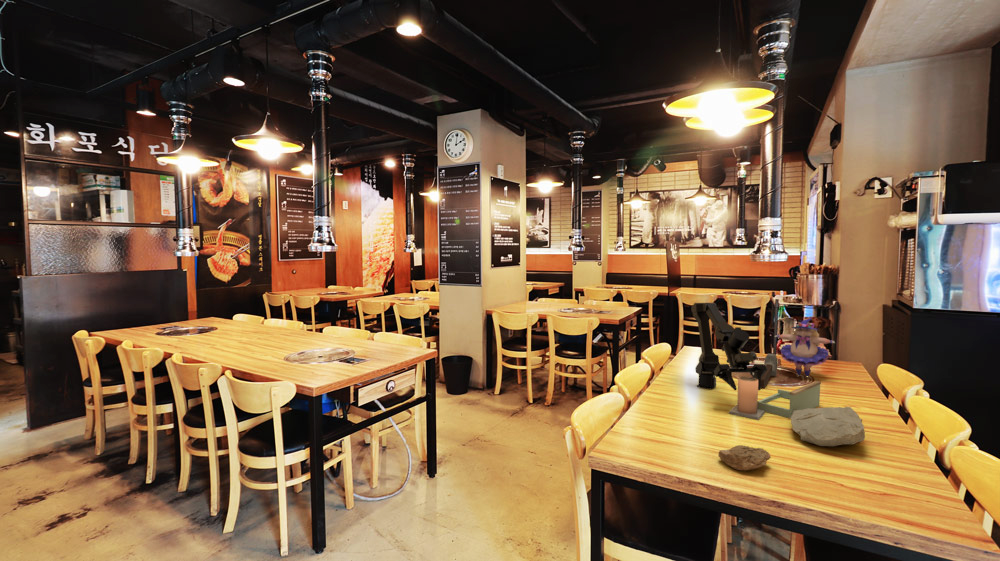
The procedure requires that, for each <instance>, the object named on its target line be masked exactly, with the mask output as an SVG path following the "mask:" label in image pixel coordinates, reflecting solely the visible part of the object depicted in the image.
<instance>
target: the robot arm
mask: <svg viewBox="0 0 1000 561" xmlns="http://www.w3.org/2000/svg"><path fill="white" fill-rule="evenodd" d="M690 309H691V313H692V316H693V318H694V319H695V321H696V322H697V325H698V326H697V327H698V334H699V340H700V342H699V343H700V349H701V354H700V356H699V357H698V363H697V364H696V366H695V369H694V370H695V374H696V373H697V374H698V384H697V388H702V389H706V390H713V389H716V387H717V378H718V379H721V380H722V381H724V382H725V383H727V385H729V386H730V388H731V389H733V390H734V391H738V387H737V385H736V382H735V379H734V377H733V374H732V373H736V374H737V373H740V374H741V373H744V374H745V373H750V376H751V377H752V378H756V379H758V391H761V390H762V388H761V376H762V375H763V374H764V373H765V372H766V371H767V370H768V369H767V367H766V365H764V363H754V364H753V365H752V366H751V367H749V366H750V363H751V362H752V363H753V362H754V361H756V360H757V359H758V357H757V353H756V351H749V352H742V350H741V349H743V348H744V346H745V344H746V343H747V342H748V341H749V339H750V334H749V333H748V332H747V331H745V330H744V329H742V328H741V327H738V326H737V327H735V328H734V326H732V325H731V324H729V323H727V321H726V319H725V318H724V317H723V315H722V314H721V312H720V310H719V309H718V305H717V302H716V303H715V302H694V303H693V304H692V305H691V308H690ZM710 321H711V323H712V325H713V327H714V329H715V331H714V335H715V336H714V337H715V339H716V340H717V341H718V342H719V343H723V346H722V347H721V351H722V352H724V353H725V356H726V359H727V360H726V363H720V359H719V358H720V357H719V355H718V354H716V353H715V352H714V347H713V342H712V333H711V328H710V327H711V326H710ZM727 363H728V364H727Z"/></svg>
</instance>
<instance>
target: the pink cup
mask: <svg viewBox="0 0 1000 561" xmlns="http://www.w3.org/2000/svg"><path fill="white" fill-rule="evenodd" d="M758 396H759V390H758V379H756V378H752V376H739V377H738V378H737V403H736V405H737V410H738V411H740V412H742V413H747V414H756V413H757V404H758V401H759V399H758V398H759V397H758Z"/></svg>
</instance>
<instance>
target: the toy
mask: <svg viewBox="0 0 1000 561" xmlns="http://www.w3.org/2000/svg"><path fill="white" fill-rule="evenodd" d="M811 320H812V317H809V318H806V319H804V320H802V321H797V326H793V327H792V326H791V327H790V328H792V329H795V331H793V333H791V334H789V333H788V334H786V333H785V334H784V333H782V334H776V335H774V338H777V339H778V338H779V339H781V340H785V341H786V340H787V341H791V342H792V343H791V344H785V345H782V347H781V349H780V353H781V355H780V357H781V358H782V359H783V360H784V361H786V362H789V363H790V364H791V363H793V364H794V366H795V372H796V377H799V376H802V371H804V374H805V376H808V377H810V374H811V373H812V372H811V371H812V370H811V368H812V367H814V366H819V365H823V364H824V363H826V362H827V359H829V357H830V356H829V350H827V349H825V348H821V347H822V346H821V347H820V345H821V344H822V345H823V344H824V345H827V344H836V342H835V340H833V339H831V340H830V339H829V338H828V339H827V338H825V337H820V333H818V330H819V328H815V324H814V323H812V322H810V321H811ZM802 367H803V368H802ZM798 375H799V376H798Z"/></svg>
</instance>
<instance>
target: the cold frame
mask: <svg viewBox="0 0 1000 561" xmlns="http://www.w3.org/2000/svg"><path fill="white" fill-rule="evenodd" d="M821 385H822V382H821V381H818V380H815V381H812V382H810V383H808V384H806V385H803V386H801V387H799V388H796V389H794V390H792V391H788V390H784V389H780V388H779V389H777V393H774V394H771V395H769V396H768V397H767V396H766V397H764V398H762V399H760V400H759V399H758V404H757V409H760V410H765V413H770V414H773V415H776V416H780V417H785V418H788V419H790V418H791V416H792V413H793V411H794V410H803V409H807V408H819V406H820V401H821V399H820V397H821V395H820V394H821ZM779 398H783V399H787V400H789V408H785V407H782V406H778V405H773V404H770V403H769V402H772V401H774V400H777V399H779Z"/></svg>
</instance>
